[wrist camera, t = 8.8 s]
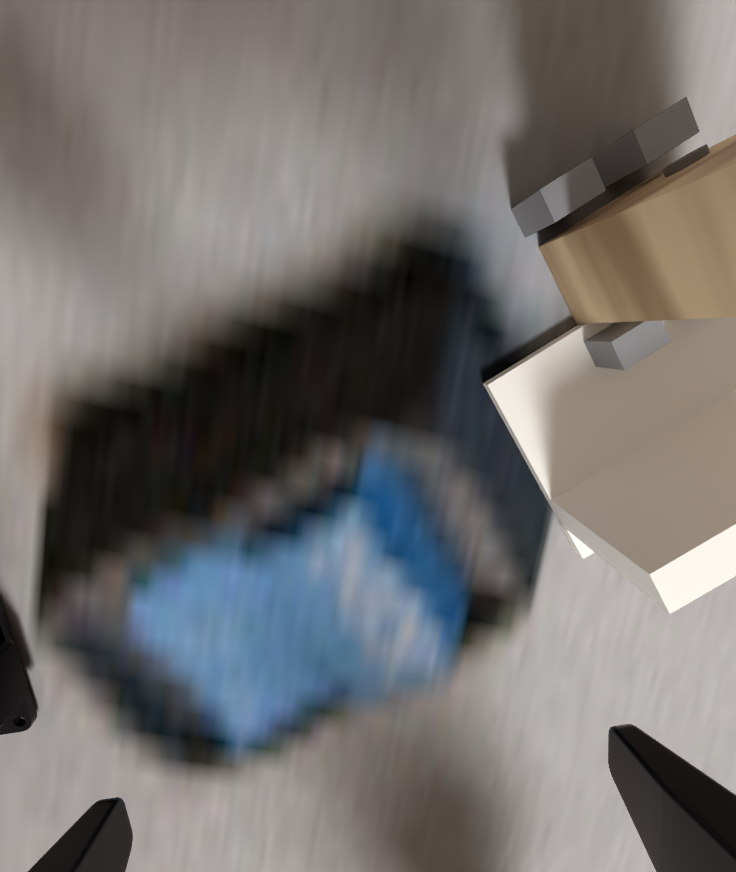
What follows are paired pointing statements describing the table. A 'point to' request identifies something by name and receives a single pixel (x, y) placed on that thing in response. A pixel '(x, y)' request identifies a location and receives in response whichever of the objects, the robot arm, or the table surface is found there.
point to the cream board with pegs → (632, 413)
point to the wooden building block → (656, 247)
